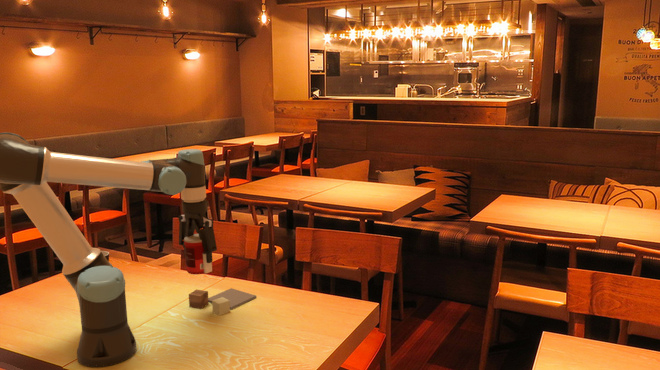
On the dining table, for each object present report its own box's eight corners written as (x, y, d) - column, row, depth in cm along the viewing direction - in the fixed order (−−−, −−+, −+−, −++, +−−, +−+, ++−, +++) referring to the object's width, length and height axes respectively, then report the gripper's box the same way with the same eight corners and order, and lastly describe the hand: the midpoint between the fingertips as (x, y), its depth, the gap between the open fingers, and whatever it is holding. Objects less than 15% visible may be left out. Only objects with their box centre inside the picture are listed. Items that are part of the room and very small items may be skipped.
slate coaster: (231, 309, 182) (231, 307, 182) (205, 301, 189) (205, 299, 188) (256, 297, 191) (256, 295, 191) (231, 290, 198) (231, 288, 198)
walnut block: (201, 309, 183) (200, 296, 182) (189, 307, 184) (188, 294, 183) (208, 303, 187) (207, 291, 186) (197, 302, 188) (196, 289, 188)
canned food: (214, 266, 180) (212, 233, 178) (206, 275, 172) (204, 241, 170) (191, 265, 181) (189, 233, 179) (182, 274, 173) (180, 240, 171)
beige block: (219, 315, 178) (219, 303, 177) (212, 312, 180) (212, 300, 180) (230, 312, 180) (229, 300, 179) (223, 308, 183) (222, 297, 182)
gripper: (226, 201, 169) (230, 272, 174) (182, 193, 181) (187, 260, 186) (207, 206, 163) (212, 279, 168) (163, 198, 175) (168, 267, 180)
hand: (199, 269), depth 177 cm, fingers closed on canned food, 8 cm apart
